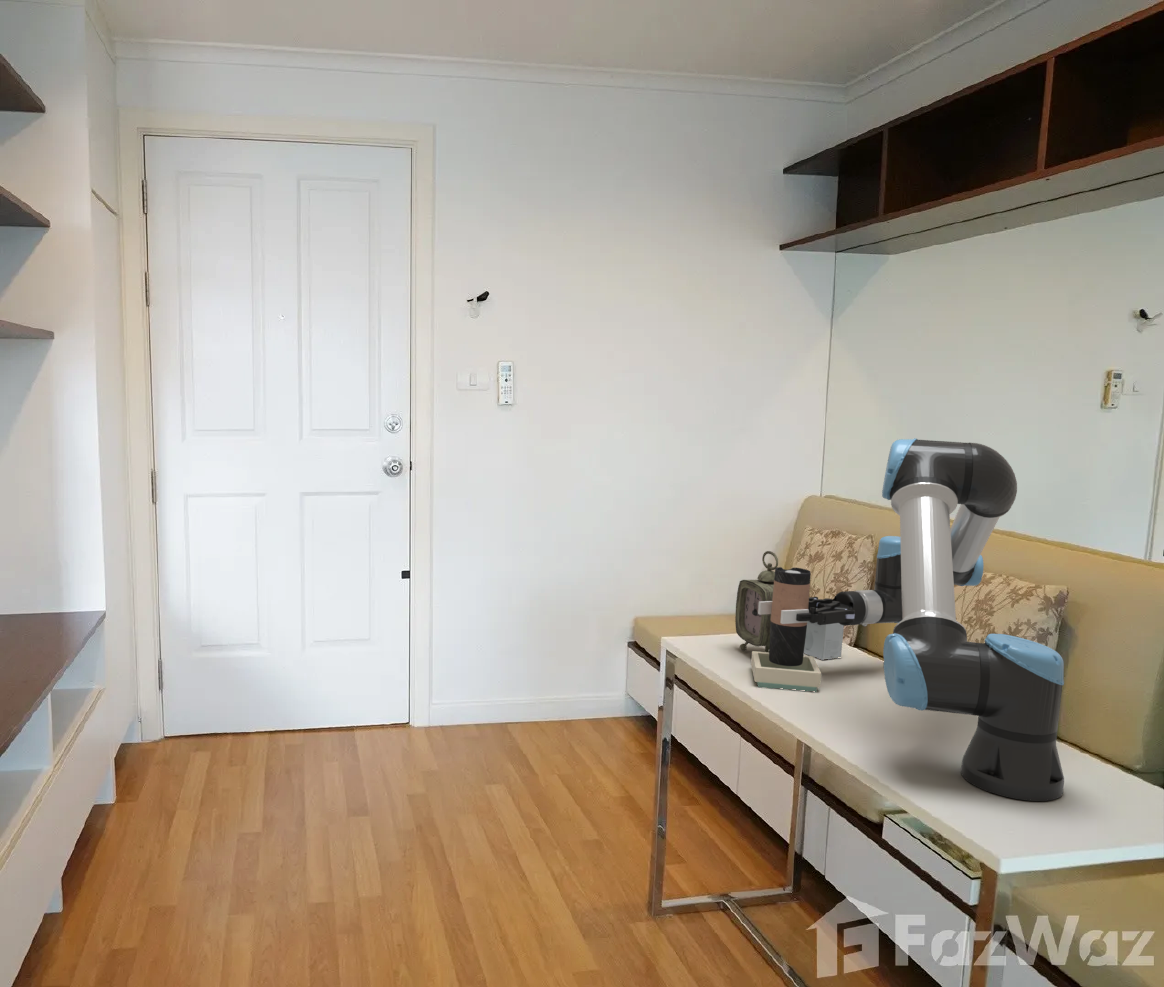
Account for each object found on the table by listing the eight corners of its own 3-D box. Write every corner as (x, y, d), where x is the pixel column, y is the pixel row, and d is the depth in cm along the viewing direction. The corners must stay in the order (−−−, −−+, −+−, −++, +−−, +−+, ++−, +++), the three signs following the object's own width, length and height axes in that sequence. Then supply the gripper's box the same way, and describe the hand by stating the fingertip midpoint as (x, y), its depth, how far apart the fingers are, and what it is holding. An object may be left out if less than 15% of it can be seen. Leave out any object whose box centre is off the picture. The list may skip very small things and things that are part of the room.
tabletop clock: (732, 648, 226) (740, 546, 224) (766, 647, 229) (774, 546, 227) (761, 666, 213) (770, 557, 210) (796, 664, 215) (805, 557, 213)
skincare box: (842, 658, 223) (846, 615, 222) (822, 661, 220) (825, 617, 219) (811, 647, 232) (815, 605, 231) (791, 649, 229) (795, 607, 228)
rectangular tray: (819, 692, 195) (821, 674, 195) (754, 686, 197) (755, 668, 196) (809, 668, 213) (811, 651, 212) (749, 663, 214) (751, 646, 214)
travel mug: (794, 669, 197) (802, 575, 195) (761, 661, 202) (768, 569, 200) (809, 661, 203) (817, 570, 201) (777, 654, 208) (784, 565, 206)
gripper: (886, 636, 200) (798, 642, 191) (825, 613, 218) (742, 618, 209) (889, 601, 199) (801, 606, 190) (828, 581, 218) (744, 585, 208)
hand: (770, 612), depth 199 cm, fingers closed on travel mug, 7 cm apart
